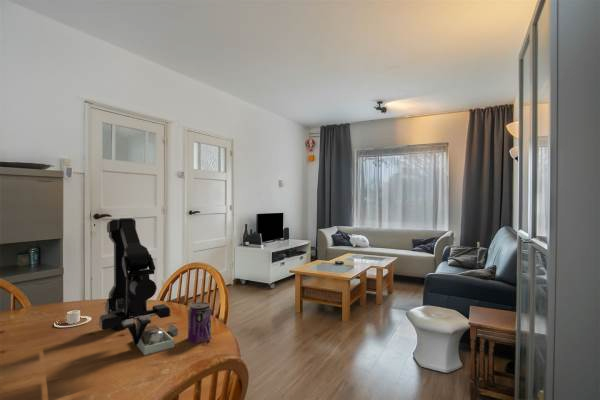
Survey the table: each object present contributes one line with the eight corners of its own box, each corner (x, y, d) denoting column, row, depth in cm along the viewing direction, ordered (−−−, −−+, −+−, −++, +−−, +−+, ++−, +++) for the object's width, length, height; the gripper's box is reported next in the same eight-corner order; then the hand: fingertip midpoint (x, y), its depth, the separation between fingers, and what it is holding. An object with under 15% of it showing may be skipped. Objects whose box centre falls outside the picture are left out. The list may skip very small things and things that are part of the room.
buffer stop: (168, 334, 111) (168, 325, 111) (172, 333, 112) (172, 324, 112) (173, 339, 108) (173, 329, 108) (177, 337, 109) (177, 328, 109)
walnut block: (141, 339, 104) (142, 327, 104) (154, 336, 107) (155, 324, 107) (145, 343, 101) (145, 331, 101) (158, 340, 104) (158, 328, 104)
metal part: (150, 350, 97) (150, 335, 97) (147, 345, 100) (147, 331, 100) (164, 346, 99) (164, 332, 99) (160, 342, 102) (161, 328, 102)
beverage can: (204, 347, 101) (204, 308, 102) (183, 345, 103) (184, 307, 103) (214, 338, 108) (214, 302, 109) (195, 336, 110) (195, 301, 110)
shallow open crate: (132, 343, 104) (132, 333, 104) (160, 336, 109) (160, 327, 109) (145, 359, 93) (145, 348, 93) (174, 351, 98) (175, 340, 98)
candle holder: (77, 329, 117) (77, 317, 117) (44, 329, 117) (45, 317, 117) (98, 318, 129) (98, 307, 129) (69, 317, 129) (69, 307, 129)
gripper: (160, 283, 110) (159, 329, 110) (96, 292, 99) (95, 344, 98) (171, 289, 102) (170, 339, 101) (102, 300, 90) (101, 357, 90)
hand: (135, 344), depth 98 cm, fingers closed
